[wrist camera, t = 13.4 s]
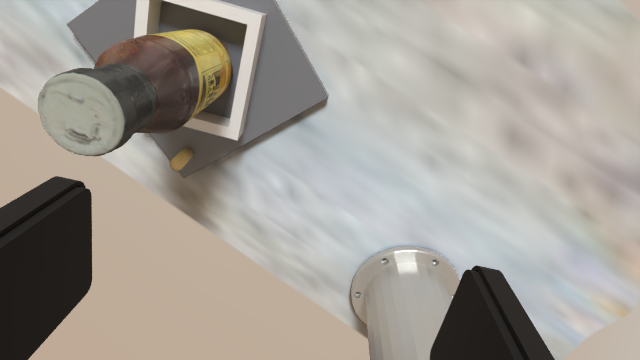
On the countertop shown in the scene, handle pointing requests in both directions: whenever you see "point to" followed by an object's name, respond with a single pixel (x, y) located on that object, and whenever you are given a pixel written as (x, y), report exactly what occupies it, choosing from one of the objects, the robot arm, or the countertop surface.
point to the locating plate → (247, 61)
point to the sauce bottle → (135, 90)
